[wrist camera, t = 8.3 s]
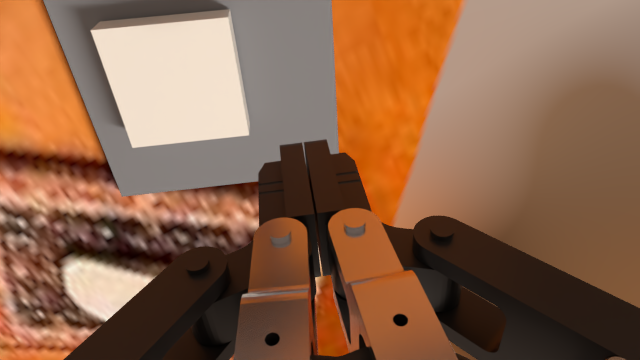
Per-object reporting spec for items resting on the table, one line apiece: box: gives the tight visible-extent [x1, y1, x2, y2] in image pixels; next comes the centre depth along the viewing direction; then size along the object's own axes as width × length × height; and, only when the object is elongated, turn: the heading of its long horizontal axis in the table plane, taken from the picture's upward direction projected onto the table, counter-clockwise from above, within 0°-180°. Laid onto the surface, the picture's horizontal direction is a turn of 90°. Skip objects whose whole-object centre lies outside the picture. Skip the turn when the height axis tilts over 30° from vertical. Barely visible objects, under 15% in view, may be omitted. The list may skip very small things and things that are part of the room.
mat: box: [43, 0, 339, 196], centre depth 23 cm, size 14×13×1 cm
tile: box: [91, 9, 250, 148], centre depth 22 cm, size 6×2×6 cm
